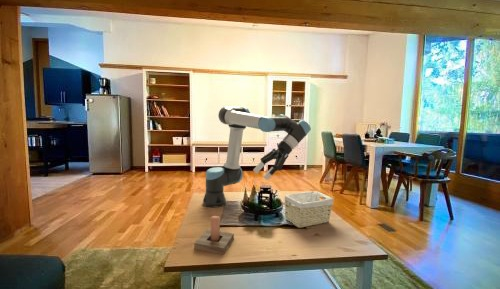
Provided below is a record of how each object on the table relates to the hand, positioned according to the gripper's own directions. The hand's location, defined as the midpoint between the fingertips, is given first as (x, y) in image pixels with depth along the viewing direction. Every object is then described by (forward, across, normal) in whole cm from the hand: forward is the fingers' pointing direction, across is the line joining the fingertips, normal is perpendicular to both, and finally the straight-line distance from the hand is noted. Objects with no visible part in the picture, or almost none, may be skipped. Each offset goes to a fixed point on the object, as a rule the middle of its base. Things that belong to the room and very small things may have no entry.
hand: (259, 175), depth 133 cm
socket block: (+38, -7, -4) cm, 39 cm away
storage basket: (-1, +3, -44) cm, 44 cm away
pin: (+38, -7, -4) cm, 39 cm away
